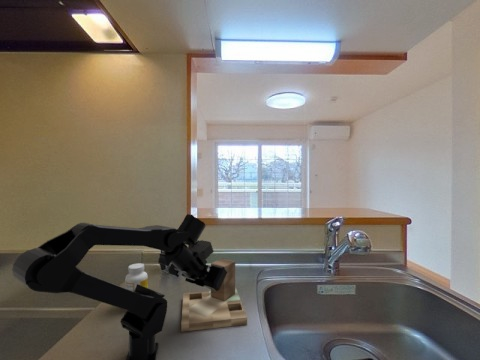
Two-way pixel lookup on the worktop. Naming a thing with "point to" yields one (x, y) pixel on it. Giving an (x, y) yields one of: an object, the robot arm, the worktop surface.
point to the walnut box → (225, 281)
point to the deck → (211, 311)
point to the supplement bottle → (136, 277)
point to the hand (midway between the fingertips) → (209, 284)
